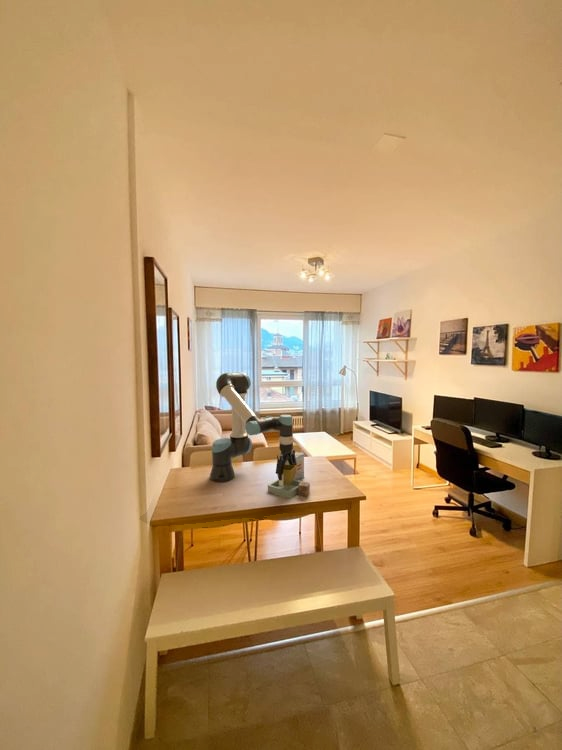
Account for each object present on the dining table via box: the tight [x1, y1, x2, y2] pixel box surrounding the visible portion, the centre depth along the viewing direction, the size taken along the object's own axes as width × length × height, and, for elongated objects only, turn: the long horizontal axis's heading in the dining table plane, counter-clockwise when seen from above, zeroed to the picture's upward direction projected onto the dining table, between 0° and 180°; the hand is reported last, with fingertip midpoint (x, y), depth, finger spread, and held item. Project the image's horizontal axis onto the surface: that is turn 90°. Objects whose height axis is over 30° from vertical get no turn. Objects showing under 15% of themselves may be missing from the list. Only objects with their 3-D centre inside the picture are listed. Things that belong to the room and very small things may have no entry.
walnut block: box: [298, 481, 311, 498], centre depth 165 cm, size 5×5×6 cm
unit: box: [285, 451, 305, 481], centre depth 186 cm, size 9×13×15 cm
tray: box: [267, 479, 302, 500], centre depth 171 cm, size 15×15×4 cm
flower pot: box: [276, 464, 296, 485], centre depth 170 cm, size 9×9×9 cm
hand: (286, 482), depth 171 cm, fingers closed on flower pot, 9 cm apart
